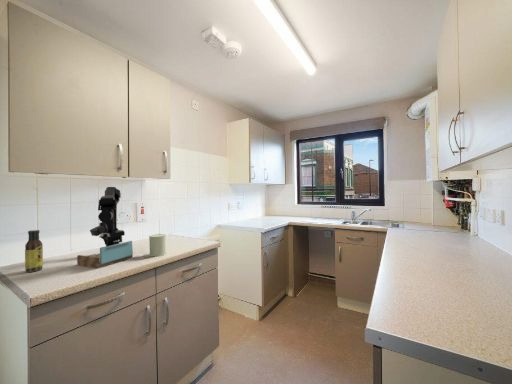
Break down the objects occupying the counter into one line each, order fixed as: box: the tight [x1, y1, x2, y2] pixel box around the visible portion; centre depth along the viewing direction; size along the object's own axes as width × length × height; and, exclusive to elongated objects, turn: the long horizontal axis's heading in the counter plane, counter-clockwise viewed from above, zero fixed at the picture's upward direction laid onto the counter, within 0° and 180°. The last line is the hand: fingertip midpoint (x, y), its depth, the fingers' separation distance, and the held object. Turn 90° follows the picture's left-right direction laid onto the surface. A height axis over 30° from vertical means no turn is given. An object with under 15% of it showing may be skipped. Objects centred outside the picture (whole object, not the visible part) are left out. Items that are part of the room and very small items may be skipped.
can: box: [148, 233, 167, 257], centre depth 138 cm, size 9×9×12 cm
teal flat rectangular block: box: [99, 240, 133, 264], centre depth 123 cm, size 2×17×8 cm, turn 157°
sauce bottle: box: [24, 229, 44, 273], centre depth 113 cm, size 6×6×20 cm
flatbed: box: [76, 249, 134, 269], centre depth 126 cm, size 16×20×5 cm
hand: (108, 248), depth 126 cm, fingers closed
